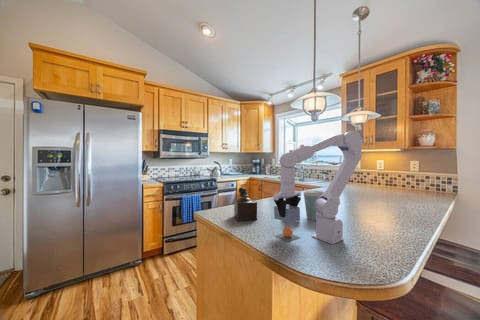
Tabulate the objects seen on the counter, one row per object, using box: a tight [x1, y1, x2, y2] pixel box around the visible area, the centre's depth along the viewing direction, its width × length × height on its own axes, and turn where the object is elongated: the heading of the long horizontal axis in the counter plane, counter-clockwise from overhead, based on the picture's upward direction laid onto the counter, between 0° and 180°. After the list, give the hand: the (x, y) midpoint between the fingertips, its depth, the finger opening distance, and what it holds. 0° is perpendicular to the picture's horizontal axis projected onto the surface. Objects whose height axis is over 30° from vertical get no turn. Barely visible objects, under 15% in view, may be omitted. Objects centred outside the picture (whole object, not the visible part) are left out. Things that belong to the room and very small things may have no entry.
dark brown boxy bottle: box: [233, 186, 258, 222], centre depth 106 cm, size 16×11×18 cm
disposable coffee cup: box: [303, 189, 324, 221], centre depth 107 cm, size 11×11×15 cm
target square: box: [275, 232, 301, 243], centre depth 83 cm, size 7×7×1 cm
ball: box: [282, 226, 294, 237], centre depth 83 cm, size 4×4×4 cm
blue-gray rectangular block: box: [273, 205, 301, 224], centre depth 83 cm, size 9×6×5 cm
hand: (287, 215), depth 83 cm, fingers closed on blue-gray rectangular block, 6 cm apart
